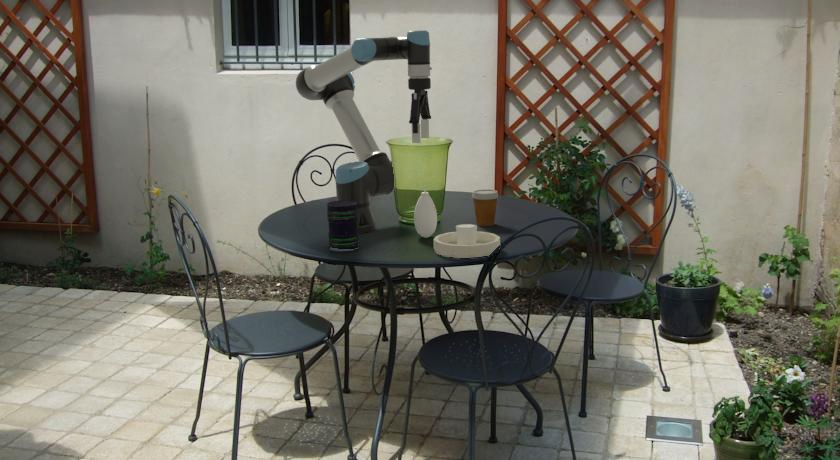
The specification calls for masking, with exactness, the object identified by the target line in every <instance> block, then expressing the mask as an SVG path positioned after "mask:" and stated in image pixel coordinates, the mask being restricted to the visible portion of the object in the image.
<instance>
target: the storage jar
mask: <svg viewBox="0 0 840 460" xmlns="http://www.w3.org/2000/svg"><path fill="white" fill-rule="evenodd" d="M326 208H327V211H326V214H327V222H328V233H327V237H328V240H327V241H328V245H329V247H332V248H338V249H355V248H358V247H359V248H360V245H359V243H360V242H359V241H360V236H359V235H360V233H359V232H358V229H357V220H358V215H357V214H358V210H357V202H355V201H337V200H334V201H329V202H328V203H326Z"/></svg>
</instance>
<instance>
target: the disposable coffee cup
mask: <svg viewBox="0 0 840 460" xmlns="http://www.w3.org/2000/svg"><path fill="white" fill-rule="evenodd" d="M471 197H472V200H473V205H474V206H473V208H474V213H475V221H476V222H475V223H476V225H477V227H478V226H479V227H492V226H495V221H496V213H497V212H496V211H497V203H498V198H499V193H498V190H496V189H477V190H473V191H472V194H471Z"/></svg>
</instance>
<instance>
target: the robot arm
mask: <svg viewBox="0 0 840 460" xmlns="http://www.w3.org/2000/svg"><path fill="white" fill-rule="evenodd" d="M430 47H431V40H430V32H429V31H428V30H425V29H424V30H423V29H422V30H408V31H407V33H406V36H389V37H388V36H385V37H361V38H356V39H354V40H353V43H352V44H351V46H350V47H348V48H346V49H345V50H342V51H341V52H339V53H338V54H336V55H334V56H332V57H330V58H328V59H326V60H325V61H322V62H321V63H320V64H317V65H310V66H308V67H305V68H304V69H302V70H301V71H300V72H298V74H297V76H296V79H295V87H296V91H297V92H298V94H299V95H300V96H301V97H303V98H304V99H306V100H309V101H323V103H324V105H325V107H326V108H327V109H329V110H331V111H333V113H334V116H335V118H336V119H337V121H338V124H339V125H340V127H341V129H342V131H343V133H344V135H345V137H346V139H347V140H348V142H349V144H350V146H351V148H352V150H353V153H354V154H355V156H356V158H357V160H358V161H354V162H347V163H343V164H341V165H339V166H338V167H337V168H336V169H335V179H334V180H335V188H336V192H335V194H336V201H355V202H357V210H358V214H357V215H358V220H357V229H358V232H359V234H364V233H369V232H372V231H375V230H376V226H377V225H376V224H377V223H376V220H375V218H374V214H373V212H372V209H371V203H370V202H371V200H370V199H371V198H373V197H379V196H384V195H385V196H386V195H390V194H393V193H395V192H394V174H393V167H392V160H390V157H389V156H388V154H387V153H386V152H384V151H381V150H380V148H379V146H378V144H377V143H376V142H377V141H376V140H375V139H374V136H373V134H372V133H371V130H370V129H369V126H368V125H367V123H366V121H365V119H364V118H363V116H362V114H361V112H360V110H359V108H358V106H357V104H356V102H355V101H354V96H355V89H356V85H355V83H356V82H355V78H354V77H353V76H354V75H353V74H352V72H354V71H356V70H358V69H360V68H362V67H364V66H365V65H368V64H371V63H372V62H374V61H377V62H378V61H393V60H394V61H395V60H396V61H397V60H407V76H408V77H409V78H408V79H407V80H408V81H407V83H408V84H407V86H408V90H412V91H414V92H412V93H411V103H410V104H411V105H410V117H409V121H408V123H409V124H411V143H412V144H422V143H421V141H422V140H421V139H430V121H429V120H431V119H432V116H431V112H430V111H431V110H430V106H429V105H430V104H429V97H428V94H429V93H428V92H429V91H428V90H429V89H431V87H432V85H431V78H430V76H431V70H432V69H433V68H432V66H431V48H430Z"/></svg>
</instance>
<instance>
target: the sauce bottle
mask: <svg viewBox="0 0 840 460" xmlns="http://www.w3.org/2000/svg"><path fill="white" fill-rule="evenodd" d="M423 187H424V188H423V192H421V193H420V196H419V198H418V199H417V202H416V204H415V208H414V213H413V222H414V227H415V230H416V232H417V234H418V235H420V236H421V237H422V238H425V239H427V238H429V237H431V236H432V235H433V234H435V231H436V230H437V225H438V214H437V209H436V208H437V207H436V206H435V203H434V201H433V198H432V197H431V195H430V193H429V192H428V191H426V184H424V185H423Z"/></svg>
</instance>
